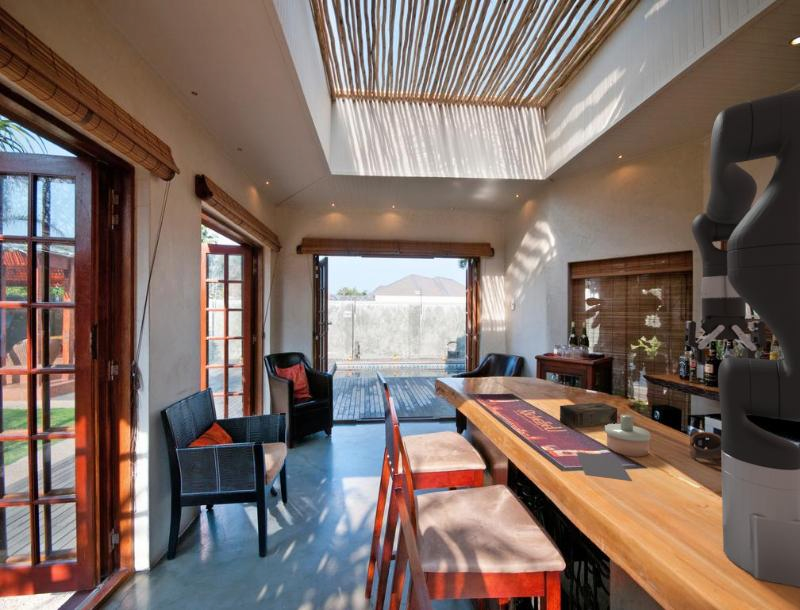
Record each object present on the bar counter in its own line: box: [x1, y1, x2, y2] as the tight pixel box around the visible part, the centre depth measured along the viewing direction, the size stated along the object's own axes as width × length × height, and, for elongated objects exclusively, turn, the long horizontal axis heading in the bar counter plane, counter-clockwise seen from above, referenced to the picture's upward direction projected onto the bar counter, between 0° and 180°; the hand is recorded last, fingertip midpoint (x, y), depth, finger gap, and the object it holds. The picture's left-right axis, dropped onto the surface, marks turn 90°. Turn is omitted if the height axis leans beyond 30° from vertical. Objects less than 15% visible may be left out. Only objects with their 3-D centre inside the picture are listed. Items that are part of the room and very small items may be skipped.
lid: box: [604, 414, 651, 442], centre depth 99 cm, size 11×11×5 cm
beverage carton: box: [559, 401, 618, 429], centre depth 125 cm, size 8×19×7 cm, turn 105°
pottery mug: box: [689, 430, 722, 461], centre depth 95 cm, size 12×10×8 cm
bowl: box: [606, 433, 649, 458], centre depth 99 cm, size 10×10×5 cm
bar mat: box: [576, 451, 633, 482], centre depth 90 cm, size 14×10×1 cm
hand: (724, 365), depth 80 cm, fingers open, 8 cm apart
